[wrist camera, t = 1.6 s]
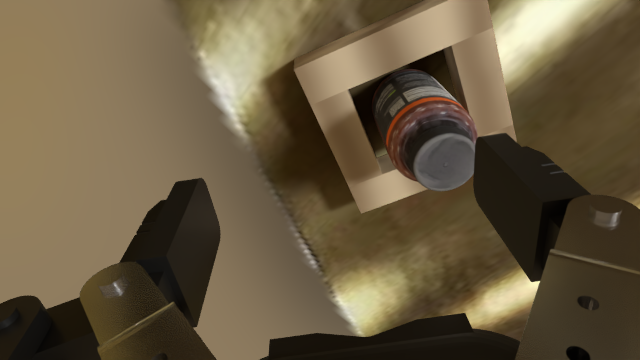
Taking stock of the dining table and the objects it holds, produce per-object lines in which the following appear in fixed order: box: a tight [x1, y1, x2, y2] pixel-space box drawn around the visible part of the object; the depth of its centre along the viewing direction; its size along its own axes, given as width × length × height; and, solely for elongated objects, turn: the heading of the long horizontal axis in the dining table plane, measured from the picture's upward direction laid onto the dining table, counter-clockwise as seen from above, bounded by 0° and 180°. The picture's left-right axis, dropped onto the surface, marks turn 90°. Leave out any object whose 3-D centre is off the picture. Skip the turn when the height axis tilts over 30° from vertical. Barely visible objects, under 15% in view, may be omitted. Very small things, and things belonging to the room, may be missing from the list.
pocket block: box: [294, 0, 517, 214], centre depth 33 cm, size 14×14×3 cm
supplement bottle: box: [372, 69, 478, 191], centre depth 30 cm, size 6×6×11 cm
